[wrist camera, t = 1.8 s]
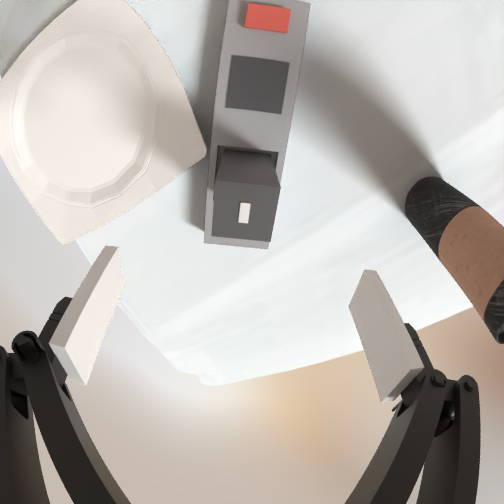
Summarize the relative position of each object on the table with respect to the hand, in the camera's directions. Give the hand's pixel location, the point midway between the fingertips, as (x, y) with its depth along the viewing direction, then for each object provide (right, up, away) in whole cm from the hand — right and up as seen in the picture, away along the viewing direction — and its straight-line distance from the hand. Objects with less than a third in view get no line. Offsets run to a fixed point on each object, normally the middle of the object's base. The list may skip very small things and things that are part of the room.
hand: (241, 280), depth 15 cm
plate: (-18, +16, +10) cm, 27 cm away
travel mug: (+23, +8, +16) cm, 29 cm away
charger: (0, +9, +13) cm, 16 cm away
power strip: (+1, +16, +10) cm, 19 cm away
